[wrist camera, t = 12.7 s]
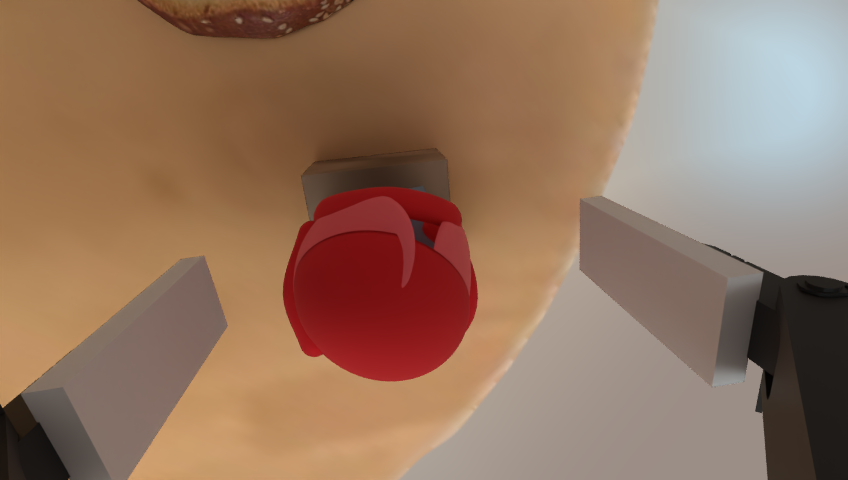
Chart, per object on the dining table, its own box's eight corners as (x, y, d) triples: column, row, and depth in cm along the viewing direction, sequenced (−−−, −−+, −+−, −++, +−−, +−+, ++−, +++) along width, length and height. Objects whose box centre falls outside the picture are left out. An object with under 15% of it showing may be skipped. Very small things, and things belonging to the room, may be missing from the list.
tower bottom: (335, 271, 26) (326, 306, 22) (315, 161, 24) (300, 176, 20) (444, 257, 27) (456, 289, 22) (435, 147, 24) (447, 159, 20)
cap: (244, 165, 12) (210, 390, 10) (454, 155, 10) (444, 414, 9) (355, 232, 19) (343, 366, 18) (485, 231, 18) (482, 377, 17)
